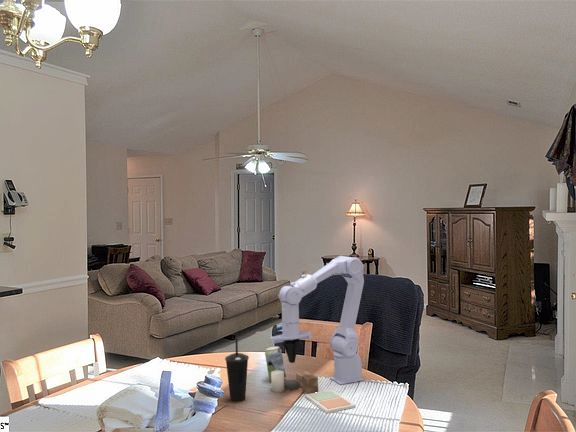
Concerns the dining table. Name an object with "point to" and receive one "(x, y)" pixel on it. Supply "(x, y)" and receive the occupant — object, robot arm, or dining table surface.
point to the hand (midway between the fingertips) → (291, 362)
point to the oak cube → (299, 377)
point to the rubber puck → (291, 384)
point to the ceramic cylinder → (277, 381)
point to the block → (309, 384)
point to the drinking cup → (237, 374)
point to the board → (329, 401)
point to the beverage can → (274, 360)
